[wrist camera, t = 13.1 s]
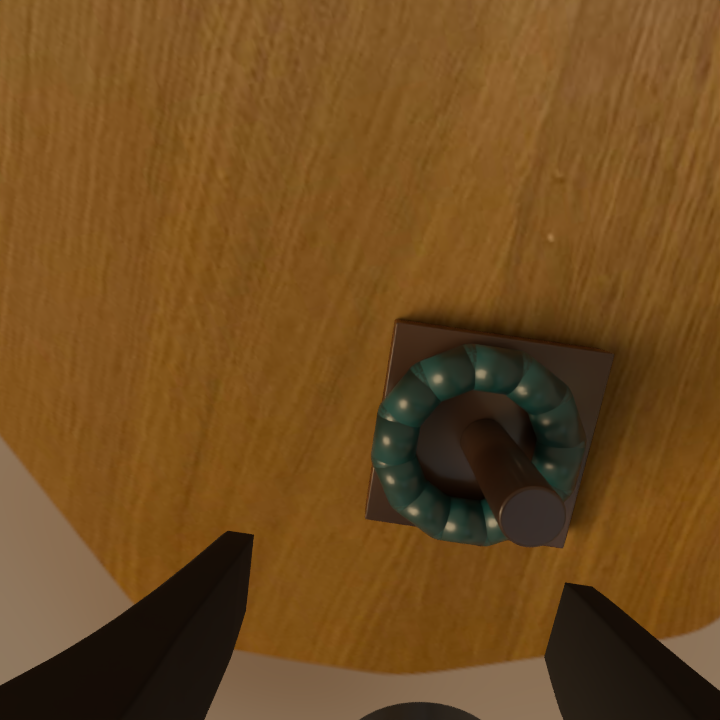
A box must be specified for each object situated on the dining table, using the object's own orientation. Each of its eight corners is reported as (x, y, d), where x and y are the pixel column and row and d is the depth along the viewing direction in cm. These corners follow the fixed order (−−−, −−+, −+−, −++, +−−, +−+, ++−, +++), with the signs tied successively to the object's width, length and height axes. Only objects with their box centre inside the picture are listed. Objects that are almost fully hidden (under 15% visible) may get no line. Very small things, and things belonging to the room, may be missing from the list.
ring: (547, 540, 20) (564, 567, 18) (361, 513, 20) (359, 537, 18) (593, 358, 18) (616, 367, 16) (389, 329, 18) (390, 335, 16)
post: (553, 533, 21) (644, 668, 14) (365, 505, 21) (360, 625, 14) (600, 348, 19) (733, 394, 12) (395, 318, 19) (406, 346, 12)
